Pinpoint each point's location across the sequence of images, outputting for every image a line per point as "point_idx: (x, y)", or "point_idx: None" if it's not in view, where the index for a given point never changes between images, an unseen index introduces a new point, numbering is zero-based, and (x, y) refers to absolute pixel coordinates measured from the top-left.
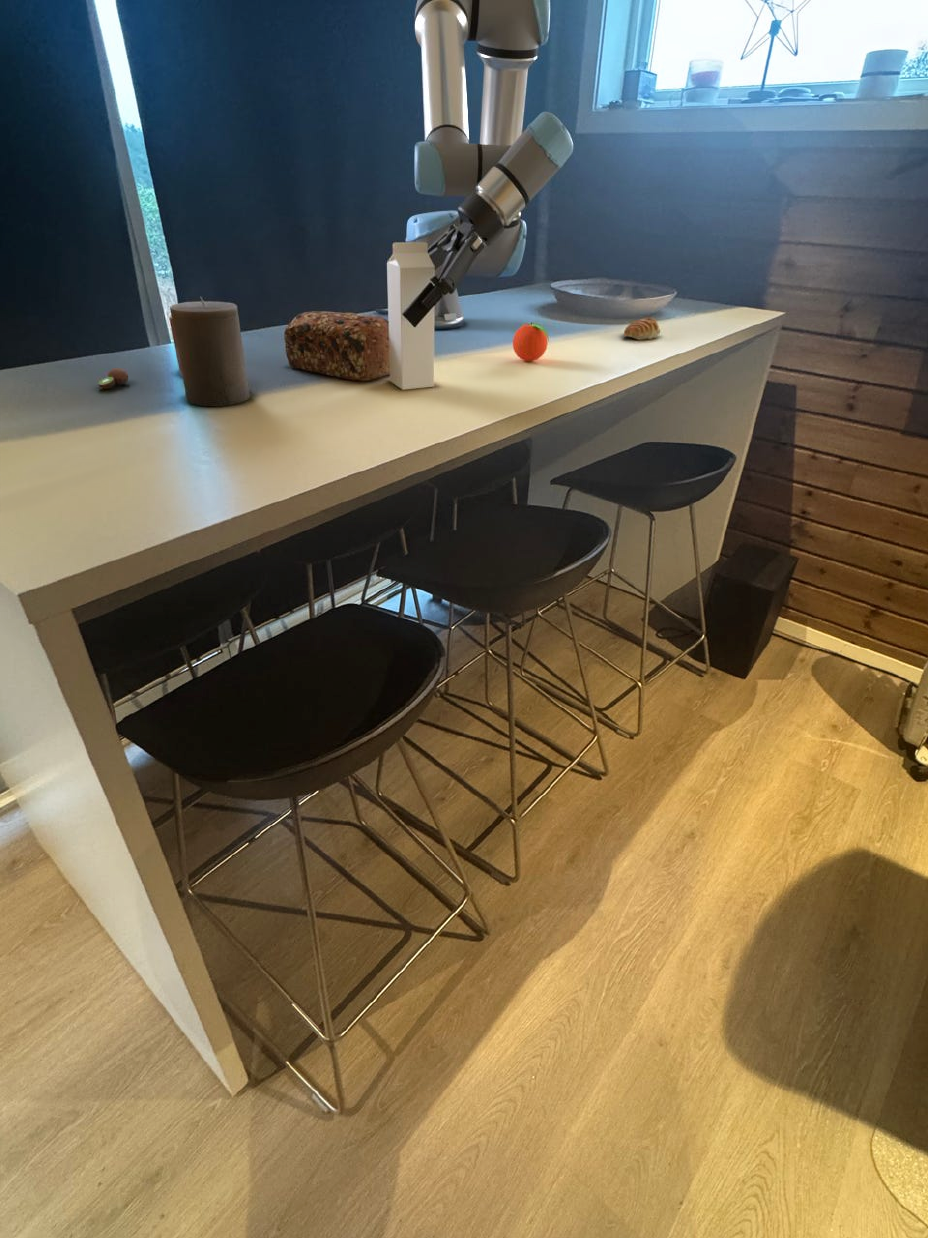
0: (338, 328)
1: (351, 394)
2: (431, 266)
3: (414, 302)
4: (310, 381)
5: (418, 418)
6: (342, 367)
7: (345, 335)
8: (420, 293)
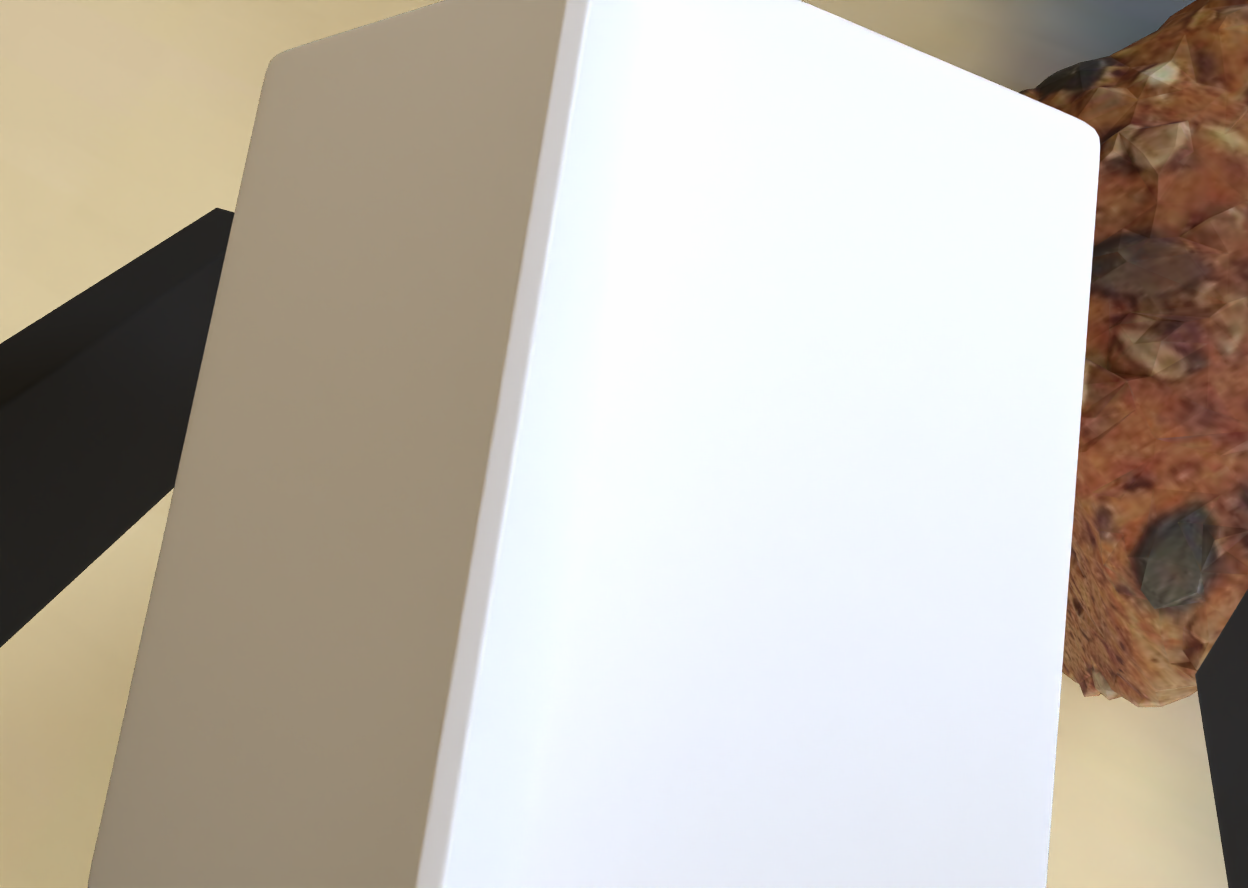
0: (1205, 18)
1: None
2: (104, 810)
3: (89, 297)
4: (1092, 5)
5: (19, 276)
6: None
7: (1071, 68)
8: (27, 371)
